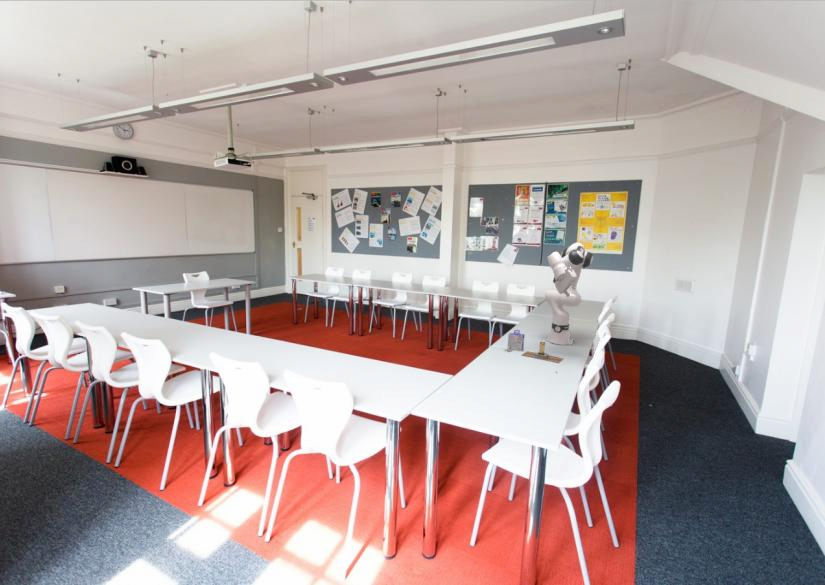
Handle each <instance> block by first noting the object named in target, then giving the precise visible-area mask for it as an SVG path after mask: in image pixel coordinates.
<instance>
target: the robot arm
mask: <svg viewBox="0 0 825 585" xmlns="http://www.w3.org/2000/svg"><path fill="white" fill-rule="evenodd" d="M593 261H594V254H593V253H592V252H589V251H586V250H585V246H584V244H583V243H581V242H573V243H572V244H571V245H569V246H568V247H566V248H563V251H562V252H561V254H560V253H559V252H558V251H554V252H551V253H550V254H548V256H547V262H548V264H549V266H550V269H551V270H552V271H553V272H552V273H553V280H552V283H553V284H554V285H555V288H556V289H548V290H547V291H546V292H545V294H544V298H545V301H546V302H547V303H548V305H549V306H550V307H551V310H552V311H551V312H552V322H551V328H550V329H549V330H548V337H547V338H546V339H545V341H548V342H549V343H551V344H555V345H562V346H564V345H568V346H569V345H572V346H573V342H574V338H571V331H570V330H569V329H570V321H569V320H570V314H569V312H568V311H567V310H565V309H564V307H563V306H565V307H571V308H573V307H578V306H579V305H580V304H581V303H582V296H581V294H580V293H579V292H578V291H577V289H578V288H577V284H578V283H579V280H580V277H581V272H582V268H583V270H584V269H585V268H588V267H590V266H591V264H592V263H593Z"/></svg>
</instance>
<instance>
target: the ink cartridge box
mask: <svg viewBox="0 0 825 585" xmlns="http://www.w3.org/2000/svg"><path fill="white" fill-rule="evenodd" d="M520 332H521V330H520V329H514V331H513V332H509V333H508V338H507V349H506V350H507V352H513V351H516V352H517V351H518V352H523V351H524V346H525V345H524V343H525V333H520Z"/></svg>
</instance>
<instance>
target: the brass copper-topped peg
mask: <svg viewBox="0 0 825 585" xmlns="http://www.w3.org/2000/svg"><path fill="white" fill-rule="evenodd" d="M545 346H546V342H545V341H540V342H539V350H538V352H539V354H540V355H544V353H545Z"/></svg>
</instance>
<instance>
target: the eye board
mask: <svg viewBox="0 0 825 585" xmlns="http://www.w3.org/2000/svg"><path fill="white" fill-rule="evenodd" d="M520 356H522V357H527V358H532V359H537V360H541V361H545V362H552V363H556V364H560V363H561V362H562V361H563V360H565V358H563V357H558V356H553V355H550V353H547V352H544V355H540V354H539V351H537V352H535V351H534V352H532V351H528V350H526V351H525V352H524V353H522V354H521V355H520Z"/></svg>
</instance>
